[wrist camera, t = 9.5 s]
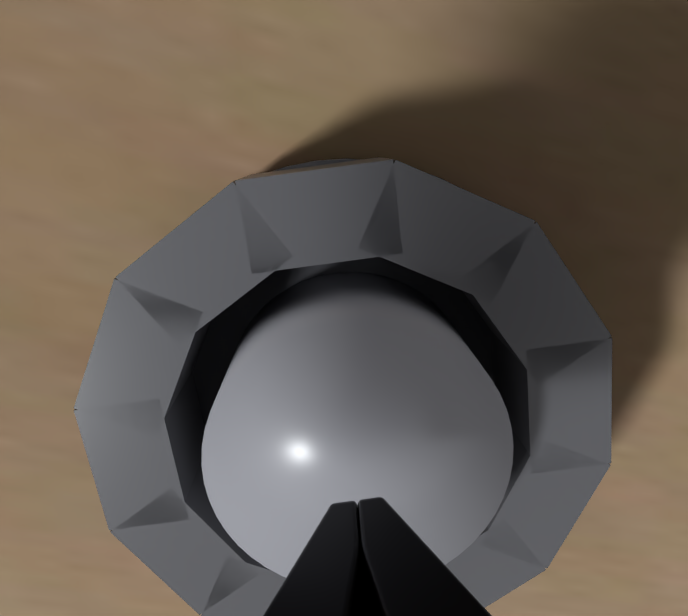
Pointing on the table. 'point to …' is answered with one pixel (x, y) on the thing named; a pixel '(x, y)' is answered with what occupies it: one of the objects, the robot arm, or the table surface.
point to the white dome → (354, 420)
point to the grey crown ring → (308, 262)
